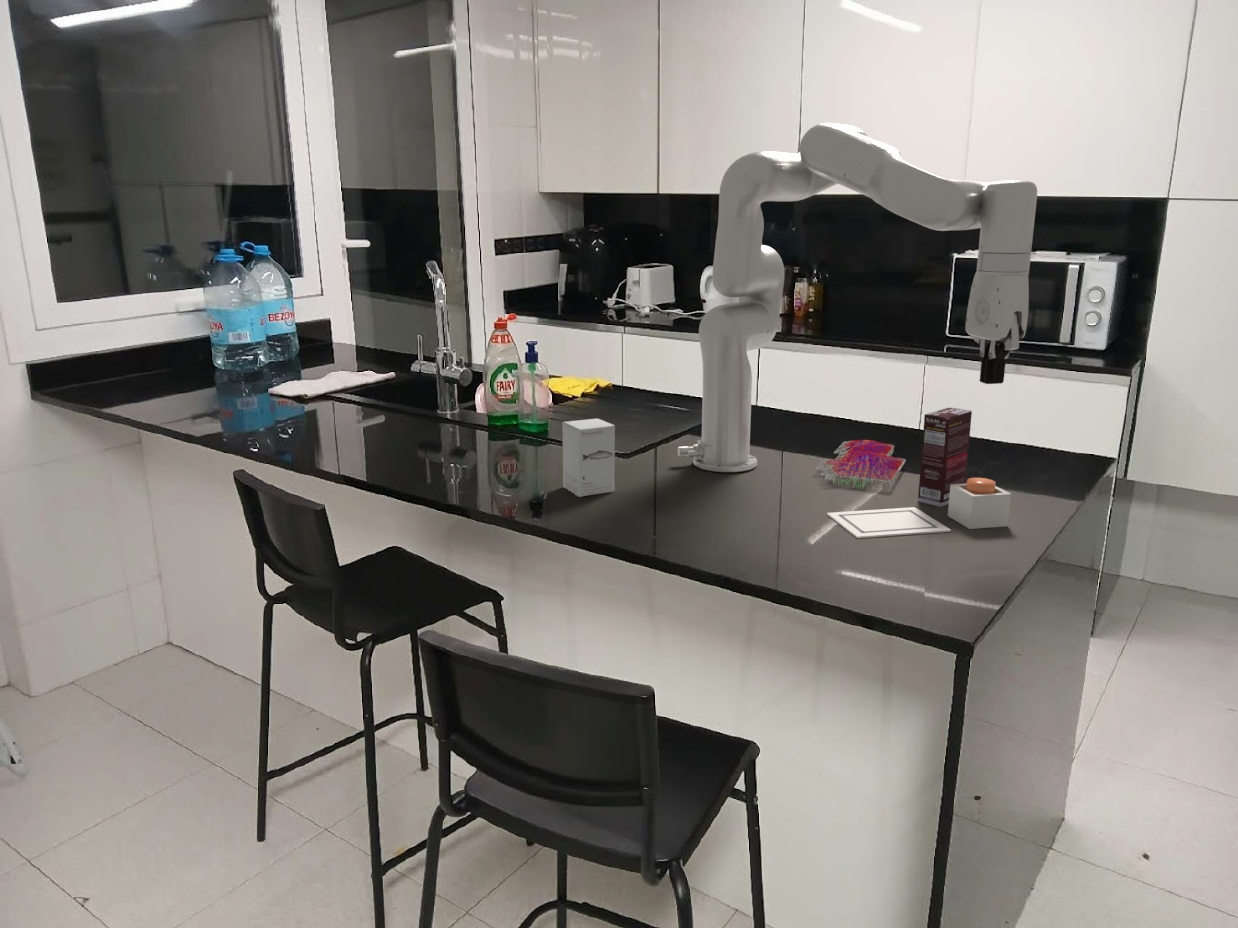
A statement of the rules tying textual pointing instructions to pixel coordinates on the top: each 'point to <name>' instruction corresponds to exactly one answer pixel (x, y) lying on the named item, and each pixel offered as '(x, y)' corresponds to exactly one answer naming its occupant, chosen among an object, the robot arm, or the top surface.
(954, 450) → the supplement box
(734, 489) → the top surface
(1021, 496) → the top surface
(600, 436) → the supplement box
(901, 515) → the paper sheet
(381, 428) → the top surface
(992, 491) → the button
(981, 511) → the button housing
